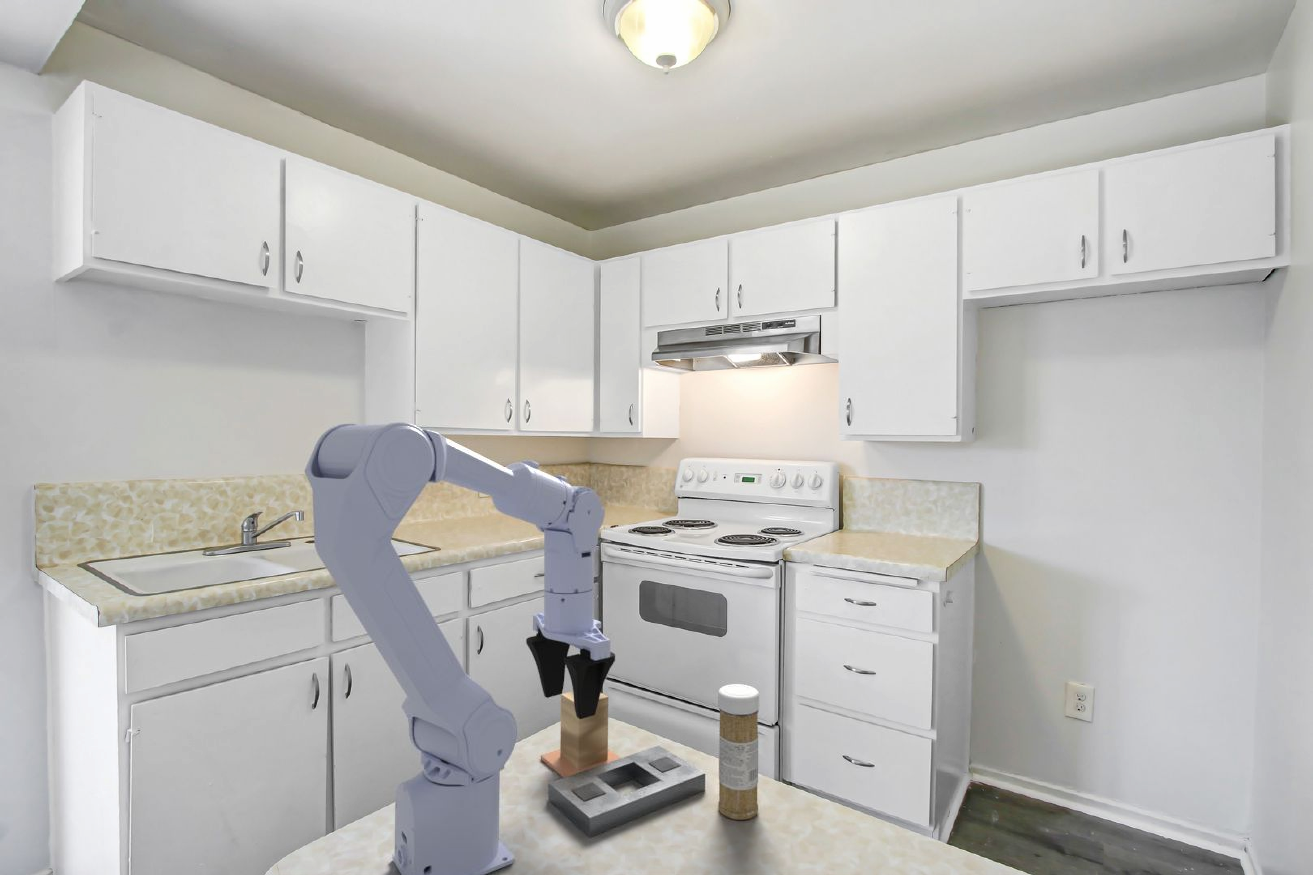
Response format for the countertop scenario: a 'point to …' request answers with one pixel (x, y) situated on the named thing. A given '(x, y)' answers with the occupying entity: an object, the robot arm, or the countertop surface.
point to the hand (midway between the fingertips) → (569, 705)
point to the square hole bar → (605, 808)
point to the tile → (568, 769)
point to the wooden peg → (583, 733)
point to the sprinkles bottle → (738, 751)
